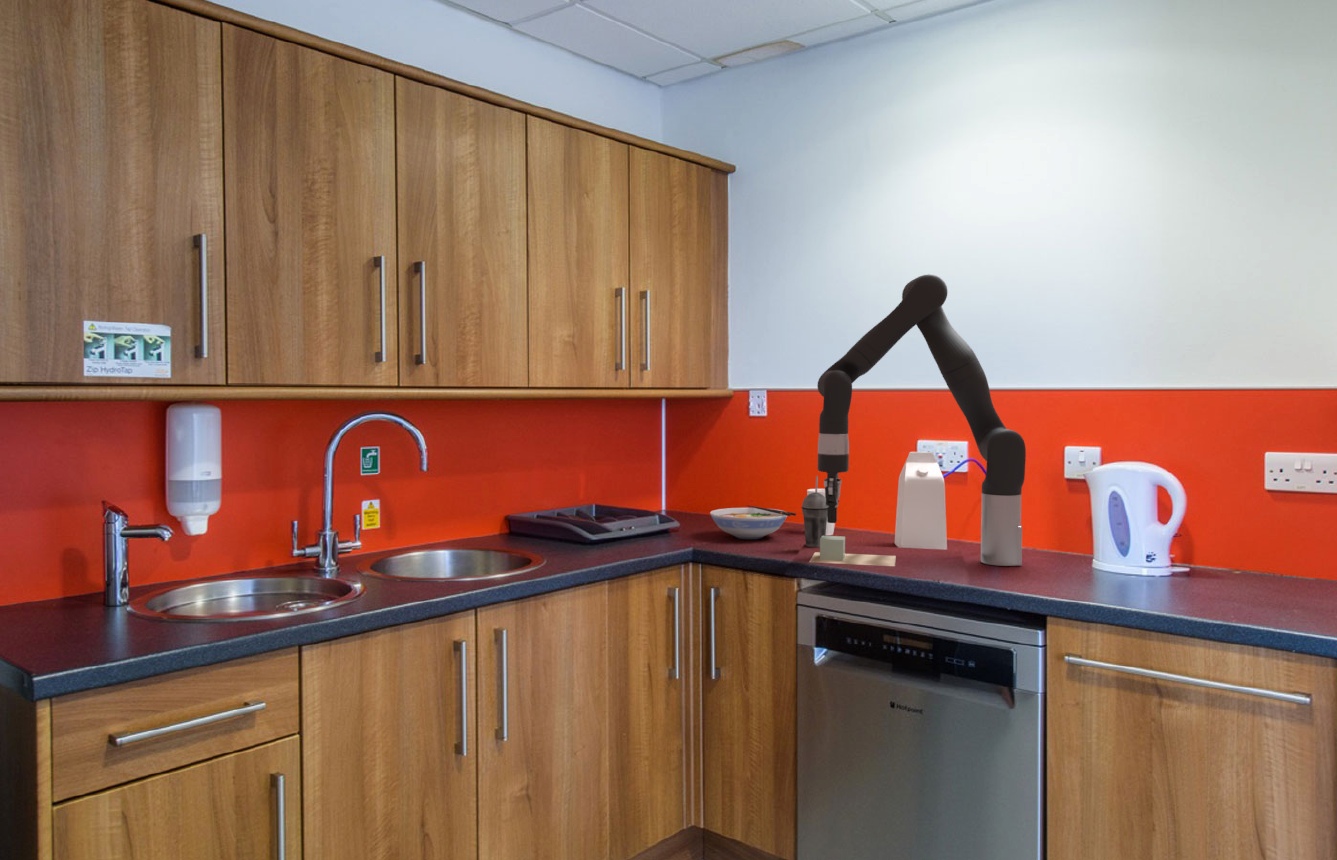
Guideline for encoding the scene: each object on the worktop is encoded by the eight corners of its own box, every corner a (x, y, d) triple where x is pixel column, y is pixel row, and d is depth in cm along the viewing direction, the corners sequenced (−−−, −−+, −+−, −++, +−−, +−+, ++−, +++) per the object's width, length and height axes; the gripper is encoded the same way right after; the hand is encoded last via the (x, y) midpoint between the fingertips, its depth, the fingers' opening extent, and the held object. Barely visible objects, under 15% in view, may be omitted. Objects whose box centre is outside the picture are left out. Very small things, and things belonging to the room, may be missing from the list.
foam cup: (801, 532, 275) (801, 489, 274) (829, 530, 277) (829, 488, 277) (815, 536, 266) (816, 492, 265) (844, 535, 268) (844, 491, 268)
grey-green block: (844, 556, 225) (845, 536, 225) (843, 560, 220) (843, 540, 219) (822, 555, 227) (822, 535, 226) (819, 559, 221) (820, 539, 221)
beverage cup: (797, 552, 240) (797, 476, 239) (806, 548, 246) (806, 474, 245) (824, 554, 236) (824, 478, 236) (832, 550, 243) (833, 475, 242)
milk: (938, 544, 253) (939, 450, 252) (947, 551, 241) (948, 453, 240) (894, 543, 254) (895, 450, 253) (901, 550, 243) (902, 453, 242)
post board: (895, 561, 226) (896, 539, 226) (894, 572, 213) (894, 549, 212) (814, 558, 231) (815, 536, 231) (808, 568, 218) (809, 545, 218)
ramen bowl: (694, 534, 271) (694, 506, 270) (760, 529, 280) (760, 502, 280) (735, 547, 248) (735, 517, 248) (806, 541, 258) (806, 512, 257)
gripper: (846, 454, 215) (845, 527, 216) (850, 450, 228) (849, 519, 228) (815, 453, 217) (813, 525, 218) (820, 450, 230) (819, 518, 230)
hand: (832, 522), depth 223 cm, fingers closed
